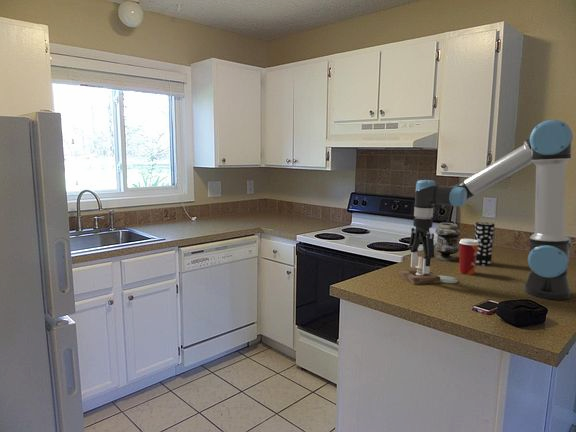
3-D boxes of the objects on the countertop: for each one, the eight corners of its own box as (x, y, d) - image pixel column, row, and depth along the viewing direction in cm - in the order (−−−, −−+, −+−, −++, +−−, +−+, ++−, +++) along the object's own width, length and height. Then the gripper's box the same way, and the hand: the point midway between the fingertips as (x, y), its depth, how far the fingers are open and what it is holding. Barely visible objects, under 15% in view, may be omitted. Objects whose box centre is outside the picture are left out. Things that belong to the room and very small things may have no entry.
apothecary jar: (460, 262, 205) (463, 226, 203) (435, 260, 207) (438, 225, 205) (455, 256, 217) (457, 222, 215) (431, 255, 219) (433, 221, 216)
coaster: (462, 282, 172) (462, 281, 172) (443, 283, 170) (443, 282, 170) (449, 276, 181) (449, 275, 181) (430, 277, 179) (431, 276, 179)
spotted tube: (474, 265, 201) (477, 224, 198) (470, 260, 208) (474, 221, 206) (492, 266, 199) (496, 225, 196) (488, 262, 207) (492, 222, 204)
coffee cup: (478, 276, 182) (481, 242, 180) (458, 274, 184) (461, 241, 182) (474, 270, 190) (476, 238, 188) (455, 269, 192) (457, 237, 190)
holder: (439, 282, 172) (440, 276, 171) (413, 284, 169) (413, 278, 169) (424, 274, 183) (424, 269, 183) (399, 275, 181) (399, 270, 180)
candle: (425, 278, 178) (426, 254, 176) (425, 281, 173) (427, 257, 171) (412, 277, 179) (414, 253, 178) (412, 280, 174) (414, 256, 173)
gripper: (446, 221, 162) (442, 277, 166) (417, 213, 183) (414, 263, 187) (429, 222, 161) (425, 278, 164) (402, 213, 182) (399, 263, 185)
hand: (419, 270), depth 175 cm, fingers open, 9 cm apart
